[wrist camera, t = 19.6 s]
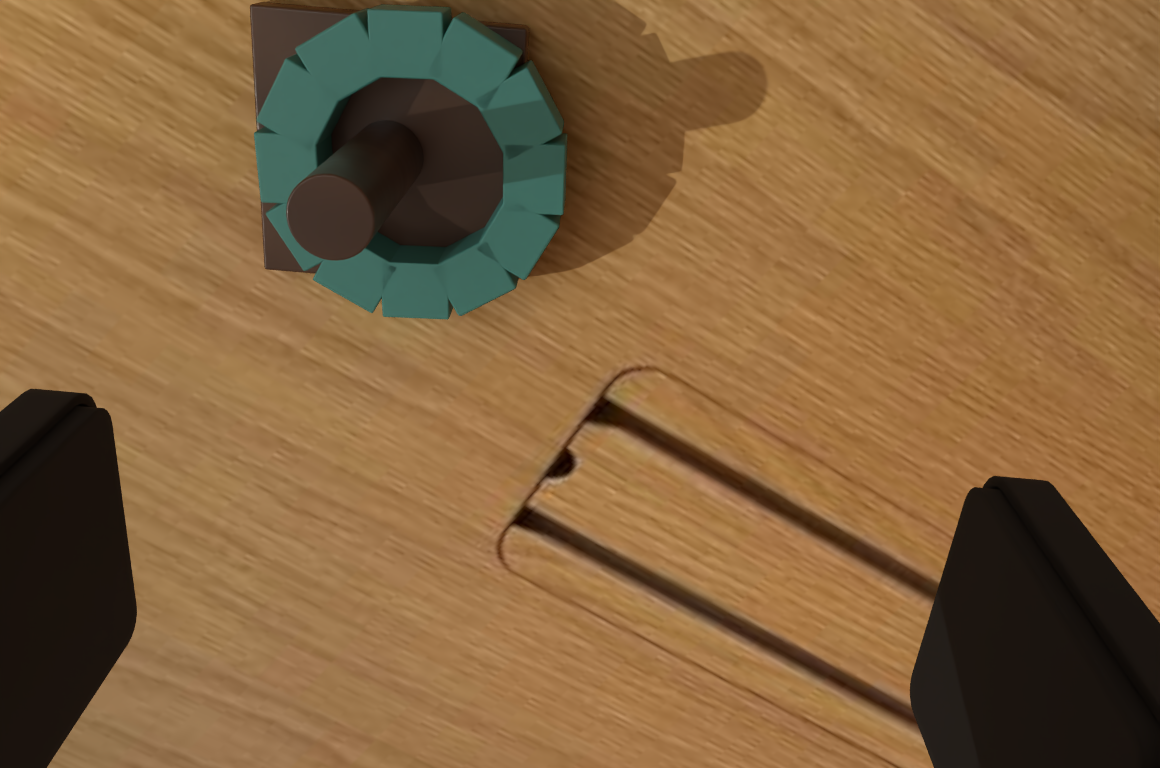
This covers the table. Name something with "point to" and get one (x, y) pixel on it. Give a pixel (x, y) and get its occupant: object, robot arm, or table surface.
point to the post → (382, 154)
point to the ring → (474, 72)
